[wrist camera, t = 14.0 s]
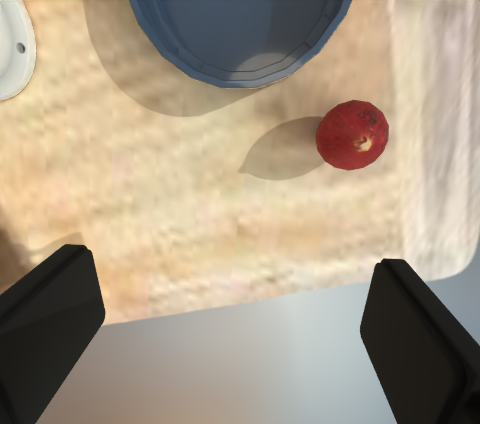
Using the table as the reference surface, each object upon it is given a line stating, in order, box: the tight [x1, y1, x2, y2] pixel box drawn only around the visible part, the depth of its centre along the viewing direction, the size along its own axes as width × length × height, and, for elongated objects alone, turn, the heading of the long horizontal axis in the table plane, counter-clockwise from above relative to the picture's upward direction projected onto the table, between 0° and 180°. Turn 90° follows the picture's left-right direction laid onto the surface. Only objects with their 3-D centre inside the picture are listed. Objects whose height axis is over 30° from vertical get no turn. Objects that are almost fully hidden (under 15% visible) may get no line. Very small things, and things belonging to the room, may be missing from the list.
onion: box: [316, 100, 389, 170], centre depth 24 cm, size 6×6×8 cm
